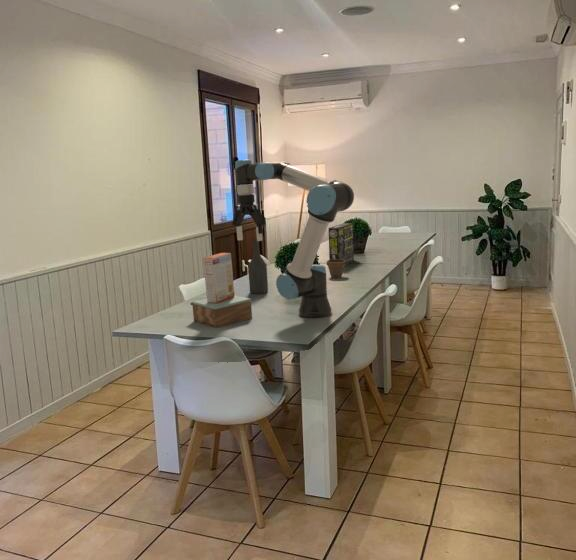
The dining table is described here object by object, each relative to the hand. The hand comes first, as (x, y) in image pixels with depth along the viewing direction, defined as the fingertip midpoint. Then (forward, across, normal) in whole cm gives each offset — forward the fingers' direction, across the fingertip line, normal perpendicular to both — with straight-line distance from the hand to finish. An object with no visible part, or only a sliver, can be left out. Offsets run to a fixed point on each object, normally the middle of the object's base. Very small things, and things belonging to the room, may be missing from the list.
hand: (249, 240), depth 271 cm
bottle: (+34, +34, -34) cm, 59 cm away
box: (+34, +51, -127) cm, 141 cm away
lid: (+26, +5, +16) cm, 31 cm away
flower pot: (+34, +24, -89) cm, 99 cm away
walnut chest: (+35, +5, +16) cm, 39 cm away
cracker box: (+26, +5, +16) cm, 31 cm away
